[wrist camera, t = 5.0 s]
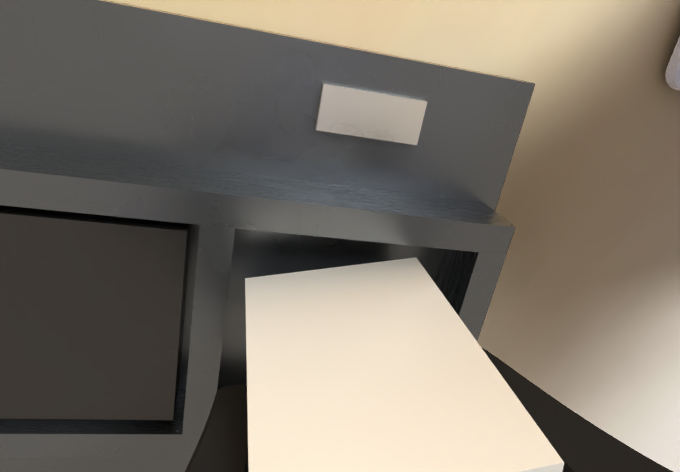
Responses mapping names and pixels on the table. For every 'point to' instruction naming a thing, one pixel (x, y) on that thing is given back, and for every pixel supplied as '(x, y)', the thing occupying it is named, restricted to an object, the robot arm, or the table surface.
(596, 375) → the table surface
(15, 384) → the grey compartment tray
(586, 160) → the table surface
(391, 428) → the cream white rectangular block
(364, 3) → the table surface
